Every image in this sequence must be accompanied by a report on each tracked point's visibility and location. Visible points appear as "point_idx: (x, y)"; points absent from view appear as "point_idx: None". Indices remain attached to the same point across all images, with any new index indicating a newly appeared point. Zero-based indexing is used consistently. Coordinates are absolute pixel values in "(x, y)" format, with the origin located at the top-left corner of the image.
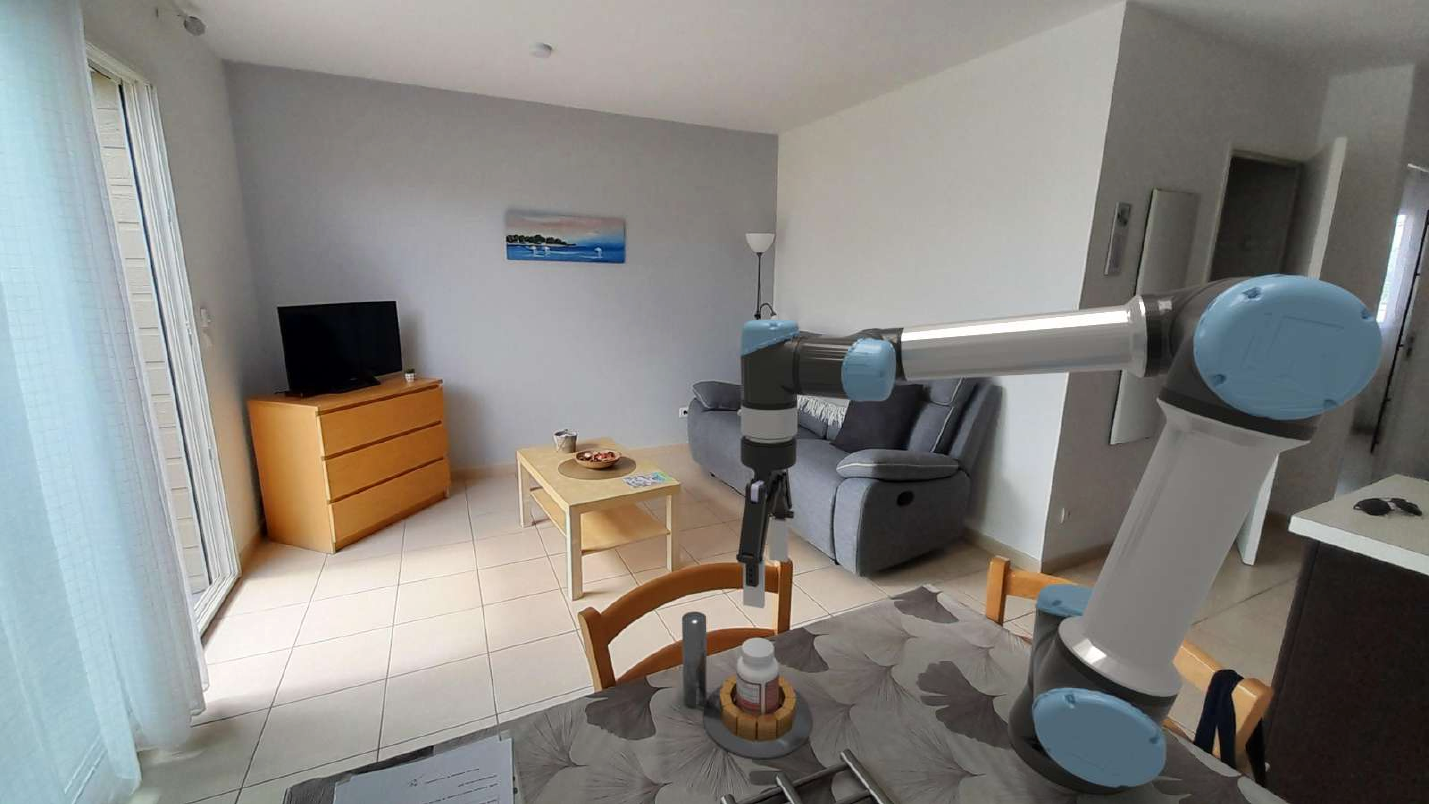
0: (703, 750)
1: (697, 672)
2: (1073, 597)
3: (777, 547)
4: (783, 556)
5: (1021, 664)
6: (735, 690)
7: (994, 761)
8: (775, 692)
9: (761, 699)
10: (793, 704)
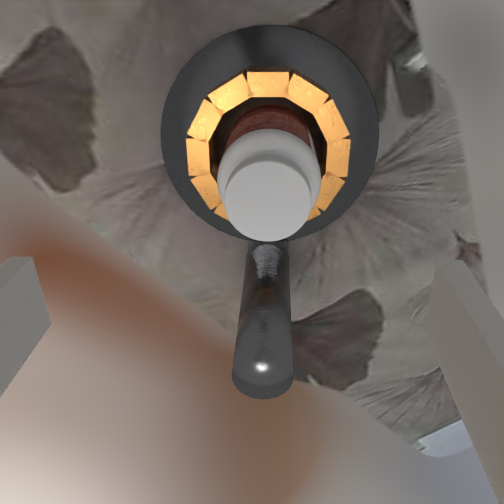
0: (377, 208)
1: (286, 289)
2: None
3: (11, 335)
4: (23, 284)
5: None
6: None
7: None
8: (284, 121)
9: (313, 145)
10: (269, 74)
